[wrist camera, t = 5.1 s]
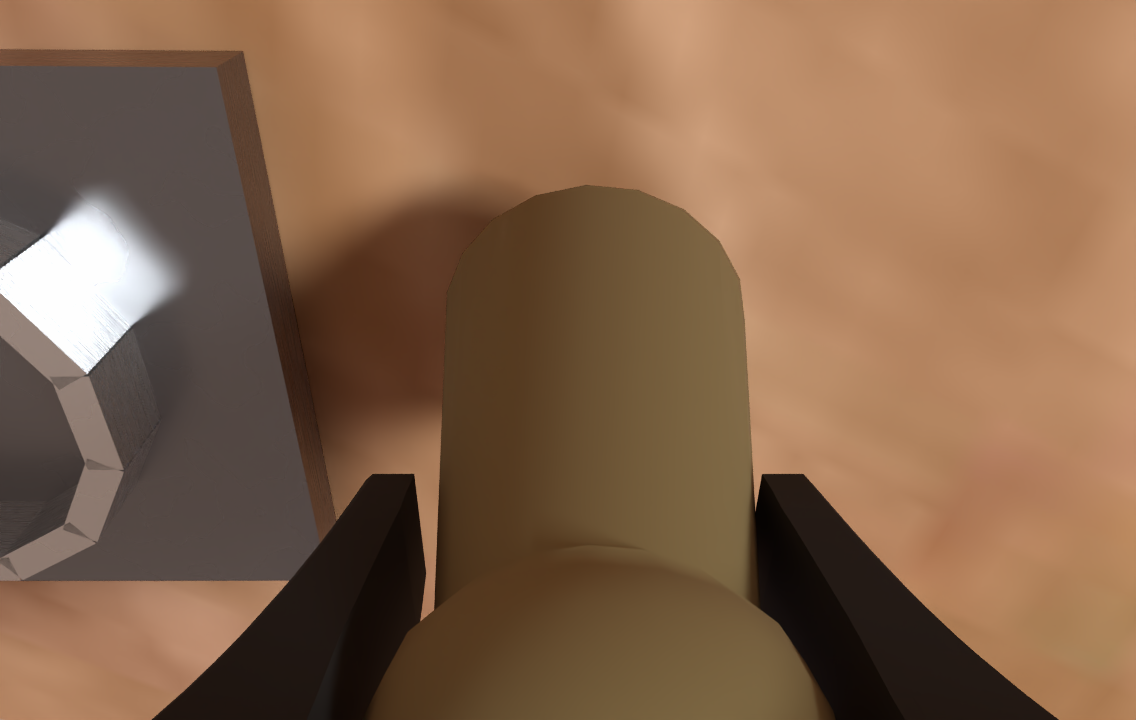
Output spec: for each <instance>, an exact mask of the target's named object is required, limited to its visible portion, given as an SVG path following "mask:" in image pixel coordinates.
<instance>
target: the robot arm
mask: <svg viewBox="0 0 1136 720" xmlns="http://www.w3.org/2000/svg"><path fill="white" fill-rule="evenodd" d="M755 516H756V534H757V552H758V570H759V588H760V606H761V611H763V612H764V613H765V614H767V615H768V616H769V617H771V618H772V619H773V620H775V621H776V622H777V623H779V625H780V626H781V627H782V629H783V630H784V632H785V633H786V635H787V636H788V638H789V639H790V640H791V642H792V643H793V645H794V646H795V648H796V649H797V651H798V652H799V653H800V655H801V656H802V658H803V659H804V661H805V662H806V664H807V666H808V667H809V669H810V671H811V673H812V674H813V676H814V678H815V680H816V681H817V683H818V685H819V687H820V688H821V690H822V692H823V694H824V695H825V697H826V699H827V701H828V702H829V704H830V706H831V708H832V709H833V712H834V715H835V719H836V720H1058V719H1057V718H1056V717H1054V716H1053V715H1052V714H1050V713H1049V712H1048V711H1046V710H1045V709H1044V708H1043V707H1041V706H1040V705H1039V704H1037V703H1036V702H1035V701H1033V700H1032V699H1031V698H1030V697H1028V696H1027V695H1026V694H1024V693H1023V692H1022V691H1021V690H1020V689H1018V688H1017V687H1016V686H1015V685H1013V684H1012V683H1011V682H1010V681H1009V680H1007V679H1006V678H1005V677H1004V676H1003V675H1001V674H1000V673H999V672H998V671H997V670H995V669H994V668H993V667H992V666H991V665H989V664H988V663H987V662H986V661H985V660H983V659H982V658H981V657H980V656H979V655H977V654H976V653H975V652H974V651H973V650H972V649H971V648H969V647H968V646H967V645H966V644H965V643H964V642H963V641H962V640H960V639H959V638H958V637H957V636H956V635H955V634H954V633H953V632H952V631H951V630H950V629H948V628H947V627H946V626H945V625H944V624H943V623H942V622H941V621H940V620H939V619H938V618H937V617H936V616H935V615H934V614H933V613H932V612H931V611H929V610H928V609H927V608H926V607H925V606H924V605H923V604H922V603H921V602H920V601H919V600H918V599H917V598H916V597H915V596H914V595H913V594H912V593H911V592H910V591H909V590H908V589H907V588H906V587H905V586H904V585H903V584H902V582H901V581H900V580H899V579H898V578H897V577H896V576H895V575H894V574H893V573H892V572H891V571H890V570H889V569H888V568H887V567H886V566H885V565H884V564H883V563H882V561H881V560H880V559H879V558H878V557H877V556H876V555H875V554H874V553H873V552H872V551H871V550H870V549H869V548H868V546H867V545H866V544H865V543H864V542H863V541H862V540H861V539H860V538H859V536H858V535H857V534H856V533H855V532H854V531H853V530H852V529H851V527H850V526H849V525H848V524H847V523H846V522H845V521H844V520H843V518H842V517H841V516H840V515H839V514H838V513H837V512H836V510H835V509H834V508H833V507H832V506H831V505H830V504H829V502H828V501H827V500H826V499H825V498H824V497H823V495H822V494H821V493H820V492H819V491H818V490H817V489H816V487H815V486H814V485H813V484H812V483H811V482H810V481H809V480H808V479H807V478H806V476H805V475H804V474H762V478H761V484H760V489H759V495H758V500H757V506H756V512H755ZM425 578H426V568H425V560H424V551H423V543H422V535H421V527H420V519H419V510H418V502H417V494H416V486H415V477H414V474H372V475H371V476H370V477H369V478H368V479H367V480H366V481H365V482H364V484H363V485H362V487H361V488H360V490H359V491H358V492H357V494H356V495H355V497H354V498H353V499H352V501H351V502H350V504H349V505H348V506H347V508H346V509H345V511H344V512H343V513H342V515H341V516H340V517H339V519H338V520H337V521H336V523H335V524H334V525H333V527H332V528H331V529H330V531H329V532H328V533H327V535H326V536H325V537H324V539H323V540H322V541H321V543H320V544H319V545H318V546H317V548H316V549H315V550H314V551H313V552H312V554H311V555H310V556H309V557H308V559H307V560H306V561H305V562H304V564H303V565H302V566H301V567H300V569H299V570H298V571H297V572H296V574H295V575H294V576H293V577H292V578H291V580H290V581H289V582H288V583H287V584H286V586H285V587H284V588H283V589H282V590H281V591H280V592H279V594H278V595H277V596H276V597H275V598H274V599H273V600H272V601H271V602H270V604H269V605H268V606H267V607H266V608H265V609H264V610H263V611H262V613H261V614H260V615H259V616H258V617H257V618H256V619H255V620H254V621H253V623H252V624H251V625H250V626H249V627H248V628H247V629H246V630H245V631H244V632H243V633H242V635H241V636H240V637H239V638H238V639H237V640H236V641H235V642H234V643H233V644H232V645H231V646H230V647H229V648H228V649H227V650H226V651H225V652H224V653H223V654H222V655H221V656H220V657H219V658H218V659H217V660H216V661H215V662H214V663H213V664H212V665H211V666H210V667H209V668H208V669H207V670H206V671H205V672H204V673H203V674H202V675H200V676H199V677H198V678H197V679H196V680H195V681H194V682H193V683H192V684H191V685H190V686H189V687H188V688H187V689H186V690H185V691H184V692H183V693H181V694H180V695H179V696H178V697H177V698H176V699H175V700H173V701H172V702H171V703H170V704H169V705H168V706H167V707H166V708H164V709H163V710H162V711H161V712H160V713H159V714H158V715H156V716H155V717H154V718H153V719H152V720H362V718H363V716H364V714H365V712H366V710H367V708H368V706H369V704H370V702H371V700H372V698H373V696H374V694H375V692H376V690H377V688H378V686H379V684H380V682H381V680H382V678H383V676H384V674H385V673H386V671H387V669H388V667H389V665H390V663H391V662H392V660H393V658H394V656H395V654H396V652H397V651H398V649H399V647H400V645H401V643H402V641H403V640H404V638H405V636H406V634H407V632H408V631H409V630H411V629H412V628H413V627H414V626H415V625H417V624H418V623H419V622H420V619H421V611H422V603H423V595H424V586H425Z"/></svg>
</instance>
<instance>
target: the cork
mask: <svg viewBox="0 0 1136 720" xmlns="http://www.w3.org/2000/svg"><path fill="white" fill-rule="evenodd" d="M362 720H836V719H835V715H834V712H833V709H832V708H831V706H830V704H829V702H828V701H827V699H826V697H825V695H824V694H823V692H822V690H821V688H820V687H819V685H818V683H817V681H816V680H815V678H814V676H813V674H812V673H811V671H810V669H809V667H808V666H807V664H806V662H805V661H804V659H803V658H802V656H801V655H800V653H799V652H798V651H797V649H796V648H795V646H794V645H793V643H792V642H791V640H790V639H789V638H788V636H787V635H786V633H785V632H784V630H783V629H782V627H781V626H780V625H779V623H777V622H776V621H775V620H773V619H772V618H771V617H769V616H768V615H767V614H765V613H764V612H763V611H761V606H760V588H759V570H758V552H757V534H756V516H755V498H754V481H753V463H752V445H751V427H750V409H749V391H748V373H747V355H746V337H745V319H744V311H743V303H742V294H741V286H740V279H739V277H738V275H737V273H736V271H735V269H734V267H733V266H732V264H731V262H730V260H729V258H728V256H727V254H726V252H725V251H724V249H723V247H722V245H721V243H720V241H719V240H718V239H717V238H716V237H714V236H713V235H712V234H711V233H710V232H709V231H708V230H707V229H705V228H704V227H703V226H702V225H701V224H700V223H699V222H698V221H696V220H695V219H694V218H693V217H692V216H691V215H690V214H689V213H687V212H686V211H685V210H684V209H682V208H679V207H677V206H674V205H672V204H670V203H667V202H665V201H663V200H660V199H658V198H656V197H653V196H651V195H648V194H646V193H644V192H641V191H639V190H632V189H622V188H611V187H601V186H591V185H584V186H579V187H574V188H570V189H565V190H560V191H555V192H550V193H545V194H540V195H536V196H534V197H532V198H530V199H528V200H527V201H525V202H523V203H521V204H520V205H518V206H516V207H514V208H512V209H511V210H509V211H507V212H505V213H503V214H502V215H500V216H498V217H496V218H495V219H493V220H492V221H491V222H490V223H489V224H488V225H487V227H486V228H485V229H484V230H483V231H482V232H481V233H480V234H479V235H478V237H477V238H476V239H475V240H474V241H473V242H472V243H471V244H470V245H469V247H468V248H467V249H466V250H465V251H464V252H463V253H462V256H461V258H460V261H459V263H458V266H457V268H456V271H455V273H454V276H453V279H452V281H451V284H450V286H449V289H448V291H447V305H446V330H445V355H444V380H443V405H442V430H441V455H440V480H439V505H438V530H437V555H436V580H435V605H434V611H433V612H432V613H430V614H429V615H428V616H427V617H425V618H424V619H423V620H422V621H420V622H419V623H418V624H417V625H415V626H414V627H413V628H412V629H411V630H409V631H408V632H407V634H406V636H405V638H404V640H403V641H402V643H401V645H400V647H399V649H398V651H397V652H396V654H395V656H394V658H393V660H392V662H391V663H390V665H389V667H388V669H387V671H386V673H385V674H384V676H383V678H382V680H381V682H380V684H379V686H378V688H377V690H376V692H375V694H374V696H373V698H372V700H371V702H370V704H369V706H368V708H367V710H366V712H365V714H364V716H363V718H362Z"/></svg>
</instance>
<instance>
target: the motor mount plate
mask: <svg viewBox="0 0 1136 720" xmlns="http://www.w3.org/2000/svg"><path fill="white" fill-rule="evenodd" d="M335 523H336V517H335V512H334V507H333V502H332V497H331V492H330V487H329V482H328V477H327V472H326V467H325V462H324V457H323V452H322V447H321V442H320V437H319V432H318V427H317V422H316V417H315V412H314V407H313V402H312V397H311V392H310V387H309V382H308V377H307V371H306V366H305V361H304V356H303V351H302V346H301V341H300V336H299V331H298V326H297V321H296V316H295V311H294V306H293V301H292V296H291V291H290V286H289V281H288V276H287V271H286V266H285V261H284V256H283V251H282V246H281V241H280V236H279V231H278V226H277V220H276V215H275V210H274V205H273V200H272V195H271V190H270V185H269V180H268V175H267V170H266V165H265V160H264V155H263V150H262V145H261V140H260V135H259V130H258V125H257V120H256V115H255V110H254V105H253V100H252V95H251V90H250V85H249V80H248V75H247V69H246V64H245V59H244V54H243V51H148V50H10V49H0V581H262V580H291V578H292V577H293V576H294V575H295V574H296V572H297V571H298V570H299V569H300V567H301V566H302V565H303V564H304V562H305V561H306V560H307V559H308V557H309V556H310V555H311V554H312V552H313V551H314V550H315V549H316V548H317V546H318V545H319V544H320V543H321V541H322V540H323V539H324V537H325V536H326V535H327V533H328V532H329V531H330V529H331V528H332V527H333V525H334V524H335Z"/></svg>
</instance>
